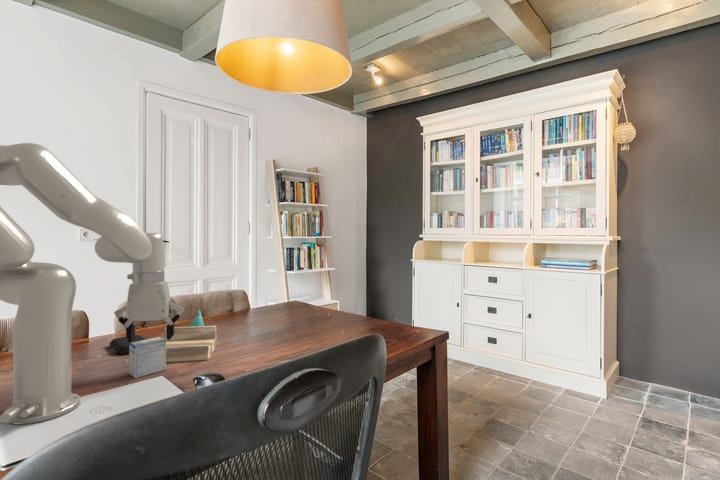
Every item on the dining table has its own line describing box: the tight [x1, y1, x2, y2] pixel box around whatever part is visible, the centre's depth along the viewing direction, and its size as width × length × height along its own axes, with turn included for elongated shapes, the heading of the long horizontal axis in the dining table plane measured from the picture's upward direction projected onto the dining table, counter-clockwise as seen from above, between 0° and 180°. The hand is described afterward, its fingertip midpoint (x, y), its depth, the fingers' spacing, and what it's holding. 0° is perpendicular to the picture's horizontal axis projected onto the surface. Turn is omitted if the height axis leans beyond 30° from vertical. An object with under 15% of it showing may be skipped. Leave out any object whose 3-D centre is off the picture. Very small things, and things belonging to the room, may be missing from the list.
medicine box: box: [128, 336, 167, 379], centre depth 103 cm, size 8×4×9 cm, turn 141°
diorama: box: [162, 310, 205, 339], centre depth 142 cm, size 12×20×9 cm, turn 140°
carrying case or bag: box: [109, 334, 147, 356], centre depth 124 cm, size 11×3×15 cm
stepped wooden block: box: [163, 325, 217, 363], centre depth 119 cm, size 14×16×7 cm
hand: (151, 339), depth 103 cm, fingers open, 9 cm apart
